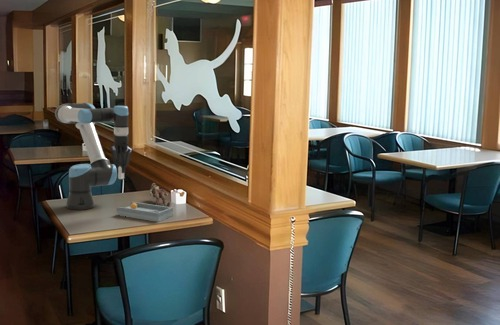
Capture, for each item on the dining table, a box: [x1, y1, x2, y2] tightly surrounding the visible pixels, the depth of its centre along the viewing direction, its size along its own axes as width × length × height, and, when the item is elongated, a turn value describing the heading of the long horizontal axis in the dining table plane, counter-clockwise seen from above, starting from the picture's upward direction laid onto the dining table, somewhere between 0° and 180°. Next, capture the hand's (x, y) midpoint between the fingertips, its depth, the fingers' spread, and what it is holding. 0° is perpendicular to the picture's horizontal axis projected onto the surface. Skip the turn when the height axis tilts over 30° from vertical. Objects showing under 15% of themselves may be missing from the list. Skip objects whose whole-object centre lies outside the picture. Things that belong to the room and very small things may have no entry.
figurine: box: [149, 182, 171, 207], centre depth 336 cm, size 11×10×30 cm
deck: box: [116, 201, 174, 223], centre depth 310 cm, size 26×14×4 cm, turn 67°
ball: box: [130, 203, 137, 209], centre depth 312 cm, size 3×3×3 cm
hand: (121, 178), depth 313 cm, fingers closed
